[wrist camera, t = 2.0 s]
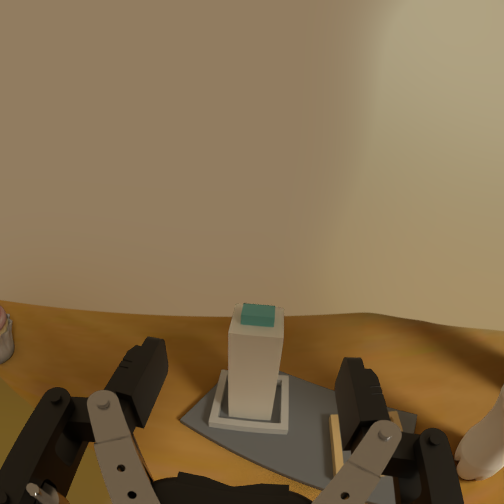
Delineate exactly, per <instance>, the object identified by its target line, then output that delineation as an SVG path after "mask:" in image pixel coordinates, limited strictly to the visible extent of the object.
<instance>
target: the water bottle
mask: <svg viewBox="0 0 504 504" xmlns="http://www.w3.org/2000/svg"><path fill="white" fill-rule="evenodd" d="M454 460H457V461H459V463H458V465H457V469H456V470H457V474H458V475H459V476H460V477H461V478H462V479H465V480H472V479H475V480H476V481H479V480H484V479H486V478H489V477H490V476H492V475H494V474H495V473H496V472H498V471H499V470H500V469H501V468H502V467H503V466H504V385H503V386H502V388H501V391H500V394H499V397H498V399H497V401H496V403H495V405H494V406H493V408H492V409H491V411H490V412H489V413H488V414H487V415H486V416H485V417H484V418H483V419H482V420H481V421H480V422H478V423H477V424H476V425H474V426H473V427H472V428H471V429H469V431H468V432H467V433H466V434H465V435H464V437H463V438H462V439H461V441H460V443H459V445H458V447H457V449H456V452H455V455H454Z"/></svg>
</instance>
